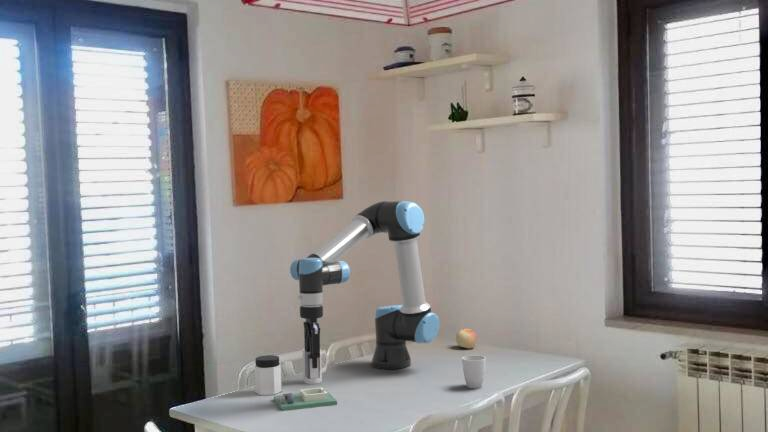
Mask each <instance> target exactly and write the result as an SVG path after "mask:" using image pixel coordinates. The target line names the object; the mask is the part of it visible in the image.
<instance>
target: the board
mask: <svg viewBox="0 0 768 432" xmlns="http://www.w3.org/2000/svg"><path fill="white" fill-rule="evenodd" d="M273 401H274V402H275V403H276V405H277V406H278V407H279V408H280V410H281V412H283V411H291V410H301V409H309V408H317V407H326V406H335V405H338V400H337V399H336V398H335V397H334V396H333V395H331V393H329V392H328V390H325V389H324V387H322V386H321V387H314V388H304V389H299V392H298V393H292V392H289V393H282V394H280V395H274V396H273Z"/></svg>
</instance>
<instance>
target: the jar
mask: <svg viewBox="0 0 768 432" xmlns="http://www.w3.org/2000/svg"><path fill="white" fill-rule="evenodd" d="M253 367H254V392H255V393H256V394H258V395H259V396H273V395H274V396H276V395H277V394H279V393H281V392H282V365H281V364H280V356H278V355H274V354H273V355H272V354H268V355H260V356H257V357H255V365H254V366H253Z"/></svg>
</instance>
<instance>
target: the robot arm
mask: <svg viewBox="0 0 768 432" xmlns="http://www.w3.org/2000/svg"><path fill="white" fill-rule="evenodd" d="M424 225H425V215H424V211H423V210H422V208H421V207H420V206H419V205H418V204H417V203H415V202H413V201H406V200H402V201H401V200H400V201H399V200H398V201H397V200H396V201H386V200H385V201H379V202H376V203H374V204H371V205H369V206H367V207H366V208H364V209H363V210H362V211H359V212H358V213H357V214H356V215H355V216H353V218H352V222H351V223H349V224H347V226H345V227H344V228H343V229H341V230H340V231H339V232H338V233H336V234H335V235H334V236H332V237H331V238H329V240H327V241H326V242H324V243H323V244H322V245H321V246H320V247H318V248H317V249H315V250H314V251H313V252H312V253H310V254H309V255H307V257H304V258H299V259H295V260H294V261H292V263H291V264H290V267H289V273H290V275H291V278H293V280H296V281H298V282H299V283H298V284H299V295H298V296H297V298H298V299H299V305H300V306H299V317H300V318H301V319H305V321H303V334H304V335H303V336H304V337H303V338H304V348H305V352H310V355H311V356H310V357H308V358H309V359H310V378H319V368H318V358H319V357H320V348H321V337H320V336H321V327H320V323H318V319H321V318H322V317H323V315H324V309H323V308H324V307H323V304H324V296H323V295H324V292H323V287H324V286H329V285H337V284H338V285H339V284H342V283H346V282H348V280H349V279H350V275H351V269H350V266H349V264H348V263H347V262H345V261H343V260H340V259H341V258H342V257H343V256H345V254H347V253H348V252H350V251H351V250H352V249H353V248H354V247H356V246H357V245H358V244H360V242H362V241H363V240H364V239H369V238H371V237H372V236H373V235H376V234H381V233H385V234H386V233H387V236H388V241H390V242H391V243H392V244H393V248H394V254H395V260H396V267H397V275H398V280H399V287H400V294H401V301H402V304H393V305H385V306H380V307H378V308H377V309H375V317H374V319H375V321H374V322H375V324H374V325H375V348H374V352H373V356H372V357H371V366H372V367H373V368H376V369H382V370H383V369H384V370H397V369H403V368H408V367H410V366H412V360H411V359H412V358H411V355H410V352H409V350H408V347H407V342H410V343H411V342H412V343H416V344H429V343H431V342H432V341H434V340H435V338H436V337H437V335H438V333H439V329H440V318H439V316H438V315H437V314H436V313H434V312H432V306H431V304H429V303H428V302H427V300H426V294H425V289H424V288H425V287H424V281H423V274H422V268H421V267H422V266H421V260H420V254H419V248H418V239H419V237H421V232H422V231H423V229H424Z"/></svg>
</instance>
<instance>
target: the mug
mask: <svg viewBox="0 0 768 432" xmlns="http://www.w3.org/2000/svg"><path fill="white" fill-rule="evenodd" d="M322 356H323V357H324V364H323V363H322ZM322 364H323V367H322ZM328 365H329V356H328V353H327V352H326V349H322V348H321V347H320V369H321V371H320V378H312V379H308V378H307V377H306V376H305V347H304V348H302V367H303V383H304V384H307V385H317V384H321V383H322V381H323V380H322V379H323V378H322V375H323V373H326V371H327V368H328Z"/></svg>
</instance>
